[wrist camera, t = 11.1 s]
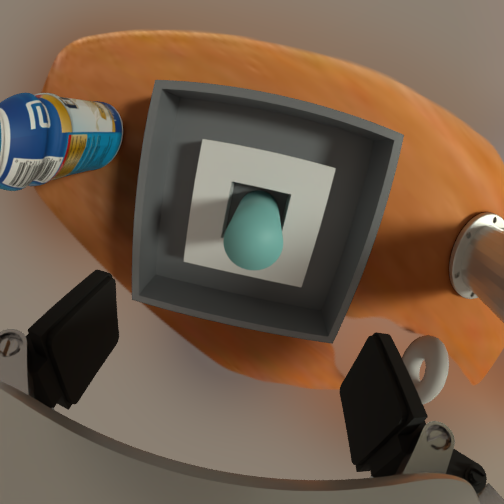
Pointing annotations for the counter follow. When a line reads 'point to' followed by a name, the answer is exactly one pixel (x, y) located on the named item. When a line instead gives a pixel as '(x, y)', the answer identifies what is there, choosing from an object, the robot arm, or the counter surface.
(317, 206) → the open box
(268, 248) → the peg
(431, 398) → the donut
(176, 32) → the counter surface
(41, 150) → the beverage bottle
